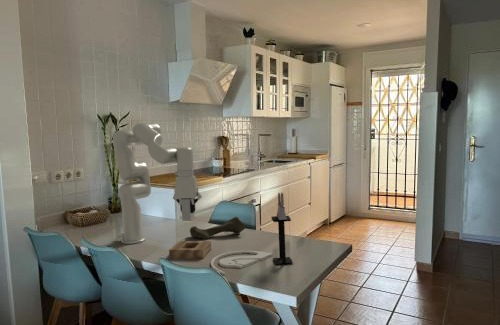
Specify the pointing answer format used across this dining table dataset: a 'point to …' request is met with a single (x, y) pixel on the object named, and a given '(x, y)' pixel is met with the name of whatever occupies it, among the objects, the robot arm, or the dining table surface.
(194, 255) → the well block
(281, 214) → the black pedestal stand
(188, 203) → the grey rectangular prism
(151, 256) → the dining table surface
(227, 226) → the bone
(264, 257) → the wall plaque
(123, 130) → the robot arm
